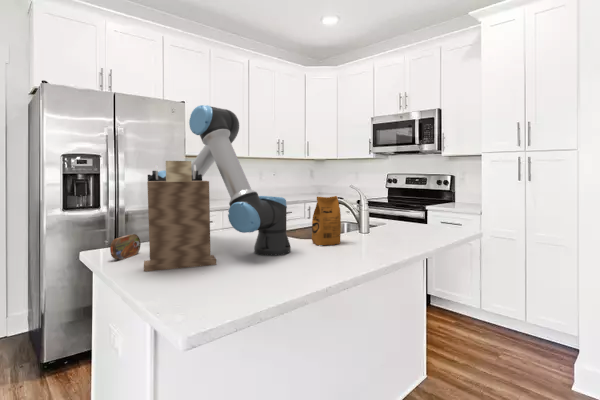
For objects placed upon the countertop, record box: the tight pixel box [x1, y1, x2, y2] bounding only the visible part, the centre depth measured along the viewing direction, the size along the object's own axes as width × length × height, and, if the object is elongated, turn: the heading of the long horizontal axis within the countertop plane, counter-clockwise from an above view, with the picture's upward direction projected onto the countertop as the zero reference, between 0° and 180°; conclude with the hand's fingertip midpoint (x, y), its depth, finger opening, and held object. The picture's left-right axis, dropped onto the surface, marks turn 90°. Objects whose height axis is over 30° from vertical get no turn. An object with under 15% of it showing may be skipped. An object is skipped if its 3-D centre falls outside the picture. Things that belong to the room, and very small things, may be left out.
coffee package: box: [311, 195, 342, 246], centre depth 168 cm, size 10×12×22 cm
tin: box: [109, 233, 142, 261], centre depth 142 cm, size 15×3×8 cm, turn 168°
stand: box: [143, 180, 217, 272], centre depth 129 cm, size 24×7×30 cm, turn 112°
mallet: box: [165, 160, 192, 182], centre depth 133 cm, size 8×21×7 cm, turn 22°
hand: (176, 167), depth 137 cm, fingers open, 13 cm apart
